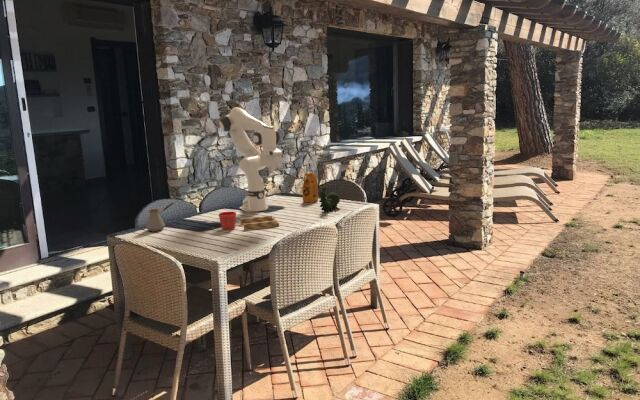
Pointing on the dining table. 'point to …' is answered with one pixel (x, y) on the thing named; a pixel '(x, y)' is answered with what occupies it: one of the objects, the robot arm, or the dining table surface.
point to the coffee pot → (155, 220)
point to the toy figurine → (328, 200)
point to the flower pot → (227, 220)
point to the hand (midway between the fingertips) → (271, 173)
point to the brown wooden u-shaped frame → (259, 222)
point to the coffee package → (310, 188)
